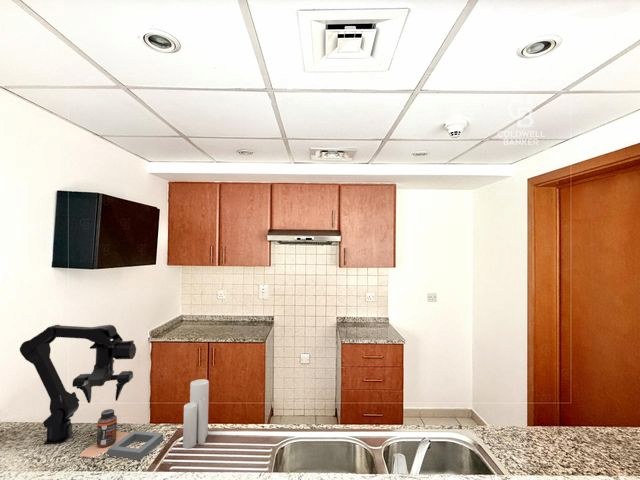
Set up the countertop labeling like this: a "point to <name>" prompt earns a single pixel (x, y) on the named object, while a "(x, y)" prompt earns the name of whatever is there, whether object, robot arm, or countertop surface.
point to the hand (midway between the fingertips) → (103, 401)
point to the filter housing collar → (135, 453)
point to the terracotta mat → (97, 450)
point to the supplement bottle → (106, 428)
